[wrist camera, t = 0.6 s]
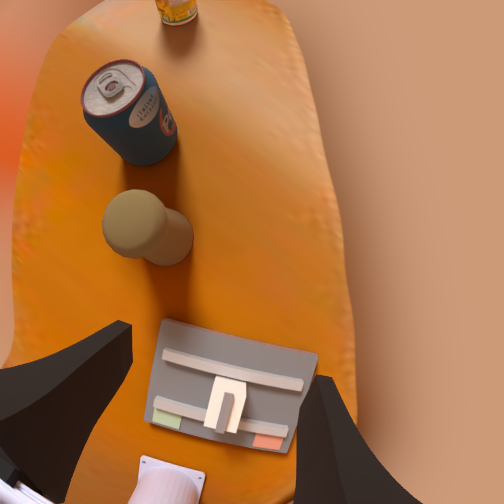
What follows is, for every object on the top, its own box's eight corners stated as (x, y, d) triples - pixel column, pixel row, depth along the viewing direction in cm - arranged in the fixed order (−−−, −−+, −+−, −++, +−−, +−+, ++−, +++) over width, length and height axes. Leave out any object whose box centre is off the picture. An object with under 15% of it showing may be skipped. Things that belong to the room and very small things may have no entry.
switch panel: (285, 446, 30) (287, 457, 28) (147, 415, 30) (141, 424, 28) (315, 352, 31) (320, 358, 28) (165, 317, 31) (159, 320, 28)
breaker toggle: (236, 415, 29) (235, 436, 24) (208, 408, 29) (202, 428, 24) (246, 381, 29) (246, 399, 24) (216, 374, 29) (211, 391, 24)
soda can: (191, 143, 32) (167, 83, 20) (141, 182, 32) (94, 139, 20) (158, 104, 32) (128, 42, 20) (111, 141, 32) (63, 91, 20)
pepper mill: (205, 243, 31) (184, 228, 20) (158, 278, 31) (117, 280, 20) (172, 197, 32) (139, 162, 21) (128, 231, 31) (77, 213, 20)
